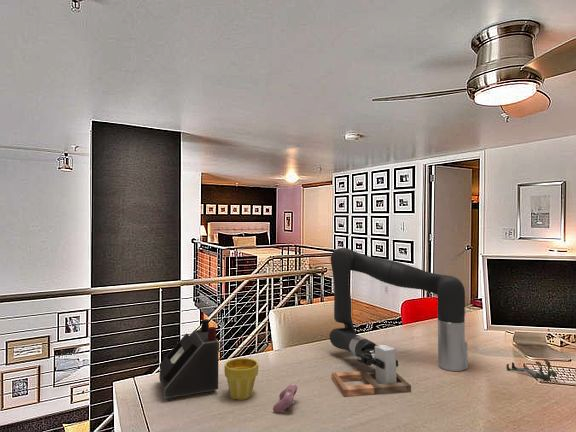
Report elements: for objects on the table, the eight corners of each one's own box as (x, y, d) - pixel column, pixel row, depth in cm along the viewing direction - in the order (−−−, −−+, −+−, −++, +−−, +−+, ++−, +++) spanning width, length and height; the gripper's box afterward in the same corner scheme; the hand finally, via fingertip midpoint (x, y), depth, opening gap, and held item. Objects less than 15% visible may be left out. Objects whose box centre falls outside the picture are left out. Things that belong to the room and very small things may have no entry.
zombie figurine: (513, 349, 145) (559, 362, 132) (513, 368, 144) (559, 382, 132) (505, 352, 142) (552, 364, 129) (505, 371, 141) (552, 385, 129)
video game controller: (285, 420, 108) (296, 398, 108) (271, 411, 109) (282, 389, 109) (291, 404, 118) (302, 384, 118) (278, 396, 119) (288, 376, 119)
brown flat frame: (392, 375, 137) (392, 369, 137) (411, 391, 123) (411, 385, 123) (331, 378, 134) (331, 373, 134) (343, 396, 120) (343, 390, 120)
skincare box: (397, 386, 128) (397, 348, 128) (386, 388, 126) (386, 350, 126) (384, 379, 133) (384, 343, 133) (374, 381, 131) (374, 345, 131)
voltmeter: (158, 383, 130) (159, 322, 131) (207, 375, 137) (208, 318, 137) (163, 403, 115) (164, 335, 116) (218, 393, 122) (218, 329, 122)
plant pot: (256, 402, 116) (256, 369, 116) (221, 402, 116) (221, 369, 116) (259, 388, 126) (259, 357, 126) (227, 388, 126) (227, 357, 126)
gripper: (345, 340, 141) (371, 355, 125) (380, 336, 145) (408, 350, 129) (346, 361, 141) (371, 379, 124) (380, 357, 145) (409, 373, 129)
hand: (390, 364), depth 127 cm, fingers closed on skincare box, 4 cm apart
